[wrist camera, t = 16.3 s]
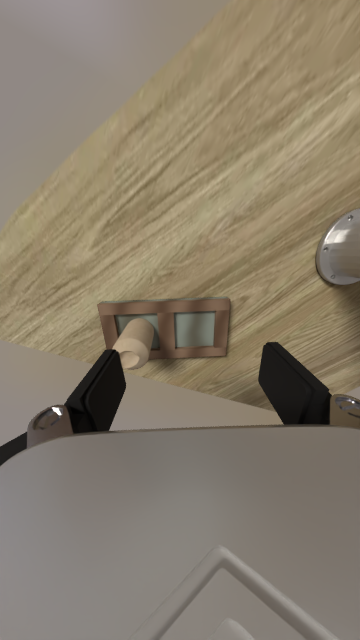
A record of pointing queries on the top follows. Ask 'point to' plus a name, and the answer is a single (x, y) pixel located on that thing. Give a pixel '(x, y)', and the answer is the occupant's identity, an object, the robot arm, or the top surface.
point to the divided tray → (172, 325)
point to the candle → (135, 343)
